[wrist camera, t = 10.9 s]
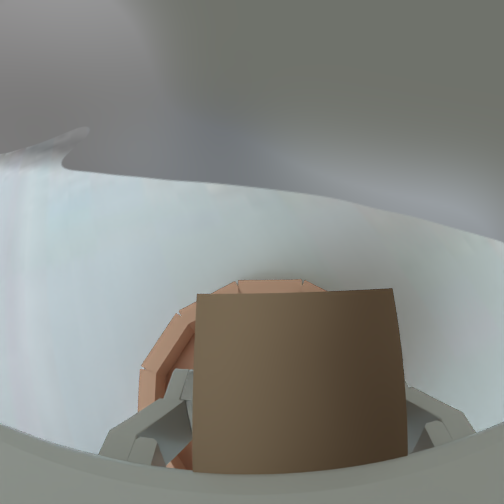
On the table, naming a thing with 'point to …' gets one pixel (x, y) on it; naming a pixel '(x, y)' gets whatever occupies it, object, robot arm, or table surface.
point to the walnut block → (297, 382)
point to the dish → (182, 348)
